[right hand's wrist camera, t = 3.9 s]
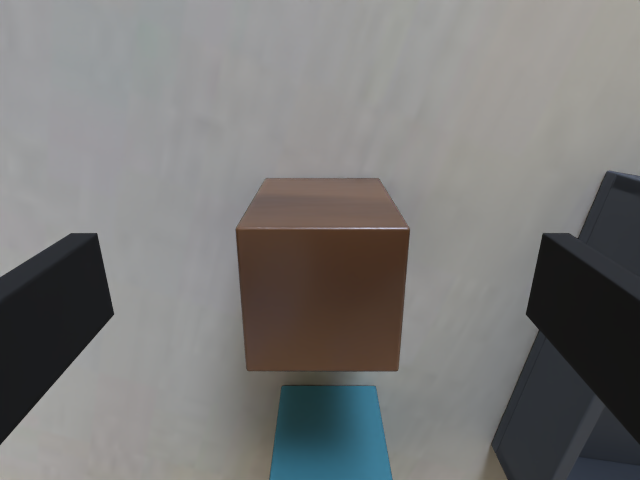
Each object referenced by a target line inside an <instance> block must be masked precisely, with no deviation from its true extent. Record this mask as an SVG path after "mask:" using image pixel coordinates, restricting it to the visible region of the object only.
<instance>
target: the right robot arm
mask: <svg viewBox="0 0 640 480" xmlns="http://www.w3.org/2000/svg"><path fill="white" fill-rule="evenodd" d="M113 315H114V311H113V307H112V302H111V297H110V292H109V288H108V283H107V278H106V273H105V269H104V264H103V259H102V254H101V250H100V245H99V240H98V235H97V233H71V234H69V235H68V236H66V237H64V238H63V239H61V240H59V241H58V242H56V243H55V244H53V245H51V246H50V247H48V248H47V249H45V250H43V251H42V252H40V253H39V254H37V255H35V256H34V257H32V258H31V259H29V260H27V261H26V262H24V263H23V264H21V265H19V266H18V267H16V268H15V269H13V270H11V271H10V272H8V273H6V274H5V275H3V276H2V277H0V445H1V443H2V442H3V441H4V440H5V439H6V438H7V437H8V435H9V434H10V433H11V432H12V431H13V430H14V429H15V427H16V426H17V425H18V424H19V423H20V422H21V421H22V419H23V418H24V417H25V416H26V415H27V414H28V413H29V411H30V410H31V409H32V408H33V407H34V406H35V405H36V403H37V402H38V401H39V400H40V399H41V398H42V396H43V395H44V394H45V393H46V392H47V391H48V390H49V388H50V387H51V386H52V385H53V384H54V383H55V382H56V380H57V379H58V378H59V377H60V376H61V375H62V374H63V372H64V371H65V370H66V369H67V368H68V367H69V366H70V364H71V363H72V362H73V361H74V360H75V359H76V357H77V356H78V355H79V354H80V353H81V352H82V351H83V349H84V348H85V347H86V346H87V345H88V344H89V343H90V341H91V340H92V339H93V338H94V337H95V336H96V335H97V333H98V332H99V331H100V330H101V329H102V328H103V327H104V325H105V324H106V323H107V322H108V321H109V320H110V319H111V317H112V316H113ZM526 315H527V316H528V317H529V319H530V320H531V321H532V322H533V323H534V324H535V325H536V327H537V328H538V329H539V330H540V331H541V332H542V333H543V335H544V336H545V337H546V338H547V339H548V340H549V341H550V343H551V344H552V345H553V346H554V347H555V348H556V349H557V351H558V352H559V353H560V354H561V355H562V356H563V357H564V359H565V360H566V361H567V362H568V363H569V364H570V366H571V367H572V368H573V369H574V370H575V371H576V372H577V374H578V375H579V376H580V377H581V378H582V379H583V380H584V382H585V383H586V384H587V385H588V386H589V387H590V388H591V390H592V391H593V392H594V393H595V394H596V395H597V396H598V398H599V399H600V400H601V401H602V402H603V403H604V405H605V406H606V407H607V408H608V409H609V410H610V411H611V413H612V414H613V415H614V416H615V417H616V418H617V419H618V421H619V422H620V423H621V424H622V425H623V426H624V427H625V429H626V430H627V431H628V432H629V433H630V434H631V435H632V437H633V438H634V439H635V440H636V441H637V442H638V443H639V445H640V277H638V276H637V275H635V274H634V273H632V272H630V271H629V270H627V269H625V268H624V267H622V266H621V265H619V264H617V263H616V262H614V261H613V260H611V259H609V258H608V257H606V256H605V255H603V254H601V253H600V252H598V251H597V250H595V249H593V248H592V247H590V246H589V245H587V244H585V243H584V242H582V241H581V240H579V239H577V238H576V237H574V236H572V235H571V234H569V233H543V235H542V240H541V245H540V250H539V254H538V259H537V264H536V269H535V273H534V278H533V283H532V288H531V292H530V297H529V302H528V307H527V311H526Z"/></svg>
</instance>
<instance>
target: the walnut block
mask: <svg viewBox="0 0 640 480" xmlns="http://www.w3.org/2000/svg"><path fill="white" fill-rule="evenodd" d="M409 235H410V229H409V227H408V225H407V223H406V222H405V220H404V218H403V217H402V215H401V214H400V212H399V210H398V209H397V207H396V205H395V204H394V202H393V200H392V199H391V197H390V196H389V194H388V192H387V191H386V189H385V187H384V186H383V184H382V183H381V181H380V179H378V178H266V179H265V180H264V182H263V184H262V185H261V187H260V189H259V190H258V192H257V194H256V195H255V197H254V199H253V200H252V202H251V204H250V205H249V207H248V209H247V210H246V212H245V214H244V215H243V217H242V219H241V220H240V222H239V224H238V225H237V227H236V241H237V254H238V268H239V281H240V294H241V307H242V320H243V333H244V346H245V359H246V369H247V371H398V369H399V358H400V345H401V333H402V321H403V308H404V296H405V284H406V272H407V259H408V247H409Z"/></svg>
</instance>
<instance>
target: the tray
mask: <svg viewBox="0 0 640 480" xmlns="http://www.w3.org/2000/svg"><path fill="white" fill-rule="evenodd" d="M578 239H579V240H581V241H582V242H584V243H585V244H587V245H589V246H590V247H592V248H593V249H595V250H597V251H598V252H600V253H601V254H603V255H605V256H606V257H608V258H609V259H611V260H613V261H614V262H616V263H617V264H619V265H621V266H622V267H624V268H625V269H627V270H629V271H630V272H632V273H634V274H635V275H637V276H638V277H640V176H636V175H630V174H625V173H620V172H614V171H607V172H606V175H605V177H604V179H603V182H602V184H601V186H600V189H599V191H598V194H597V196H596V198H595V201H594V203H593V205H592V208H591V210H590V212H589V215H588V217H587V220H586V222H585V224H584V227H583V229H582V231H581V234H580V236H579V238H578ZM492 447H493V449H494V451H495V453H496V455H497V458H498V460H499V462H500V464H501V466H502V468H503V470H504V472H505V474H506V477H507V479H508V480H640V445H639V443H638V442H637V441H636V440H635V439H634V438H633V437H632V435H631V434H630V433H629V432H628V431H627V430H626V429H625V427H624V426H623V425H622V424H621V423H620V422H619V421H618V419H617V418H616V417H615V416H614V415H613V414H612V413H611V411H610V410H609V409H608V408H607V407H606V406H605V405H604V403H603V402H602V401H601V400H600V399H599V398H598V396H597V395H596V394H595V393H594V392H593V391H592V390H591V388H590V387H589V386H588V385H587V384H586V383H585V382H584V380H583V379H582V378H581V377H580V376H579V375H578V374H577V372H576V371H575V370H574V369H573V368H572V367H571V366H570V364H569V363H568V362H567V361H566V360H565V359H564V357H563V356H562V355H561V354H560V353H559V352H558V351H557V349H556V348H555V347H554V346H553V345H552V344H551V343H550V341H549V340H548V339H547V338H546V337H545V336H544V335H543V333H542V332H541V331H539V333H538V335H537V338H536V340H535V342H534V345H533V347H532V349H531V352H530V354H529V357H528V359H527V361H526V364H525V366H524V368H523V371H522V373H521V375H520V378H519V380H518V383H517V385H516V387H515V390H514V392H513V394H512V397H511V399H510V401H509V404H508V406H507V408H506V411H505V413H504V416H503V418H502V420H501V423H500V425H499V427H498V430H497V432H496V434H495V437H494V439H493V442H492Z"/></svg>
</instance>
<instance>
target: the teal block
mask: <svg viewBox="0 0 640 480" xmlns="http://www.w3.org/2000/svg"><path fill="white" fill-rule="evenodd" d="M269 480H393V479H392V474H391V468H390V463H389V457H388V452H387V446H386V441H385V435H384V429H383V424H382V418H381V413H380V407H379V402H378V396H377V391H376V387H375V386H282V387H281V395H280V402H279V410H278V417H277V425H276V433H275V440H274V448H273V455H272V463H271V470H270V478H269Z"/></svg>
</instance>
